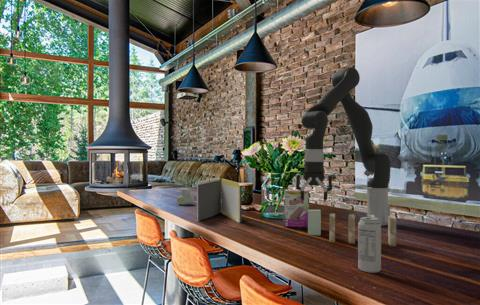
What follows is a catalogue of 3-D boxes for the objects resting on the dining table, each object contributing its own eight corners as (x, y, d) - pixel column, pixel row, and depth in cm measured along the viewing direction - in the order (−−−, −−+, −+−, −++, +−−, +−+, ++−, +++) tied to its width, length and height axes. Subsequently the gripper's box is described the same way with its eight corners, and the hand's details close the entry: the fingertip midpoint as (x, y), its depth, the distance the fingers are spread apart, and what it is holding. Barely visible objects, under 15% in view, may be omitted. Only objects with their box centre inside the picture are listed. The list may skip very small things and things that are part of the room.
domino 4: (393, 243, 135) (393, 215, 135) (396, 246, 130) (396, 218, 130) (388, 242, 135) (388, 215, 135) (390, 246, 130) (390, 218, 130)
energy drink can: (385, 272, 101) (385, 218, 101) (372, 277, 98) (372, 221, 98) (366, 267, 106) (366, 215, 106) (353, 271, 103) (353, 217, 103)
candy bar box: (283, 227, 162) (283, 190, 162) (283, 225, 167) (283, 189, 167) (309, 228, 161) (309, 190, 161) (308, 225, 166) (308, 189, 166)
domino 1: (308, 233, 149) (308, 209, 150) (320, 234, 148) (320, 210, 148) (307, 235, 148) (307, 210, 148) (320, 235, 146) (320, 210, 146)
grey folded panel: (246, 223, 173) (246, 181, 173) (202, 226, 166) (202, 183, 166) (224, 211, 206) (224, 177, 206) (186, 213, 199) (186, 177, 199)
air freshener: (196, 204, 235) (196, 188, 235) (187, 205, 228) (187, 189, 228) (183, 203, 241) (183, 187, 241) (174, 204, 234) (174, 188, 234)
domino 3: (354, 240, 138) (354, 214, 138) (354, 244, 133) (354, 216, 133) (348, 240, 138) (348, 214, 138) (349, 243, 134) (349, 216, 134)
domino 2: (334, 239, 140) (334, 213, 140) (335, 242, 135) (335, 215, 135) (329, 239, 140) (329, 213, 140) (329, 242, 135) (329, 215, 135)
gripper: (332, 160, 150) (332, 200, 150) (297, 160, 153) (297, 198, 153) (332, 161, 143) (331, 202, 143) (295, 160, 146) (295, 201, 146)
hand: (313, 200), depth 148 cm, fingers open, 8 cm apart
